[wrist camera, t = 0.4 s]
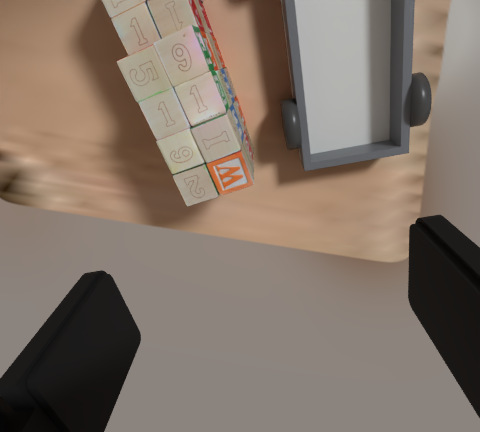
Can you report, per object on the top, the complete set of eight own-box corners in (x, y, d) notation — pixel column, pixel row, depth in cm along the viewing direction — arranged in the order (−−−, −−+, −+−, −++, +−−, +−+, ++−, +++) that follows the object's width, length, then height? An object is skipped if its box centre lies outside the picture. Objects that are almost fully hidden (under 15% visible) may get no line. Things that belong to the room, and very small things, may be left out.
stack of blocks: (116, -43, 29) (33, -104, 18) (177, -75, 28) (126, -161, 17) (206, 165, 38) (186, 209, 27) (255, 148, 37) (254, 187, 26)
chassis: (247, -131, 26) (245, -170, 22) (417, -184, 24) (453, -238, 20) (288, 162, 37) (292, 176, 33) (406, 141, 35) (428, 153, 31)
